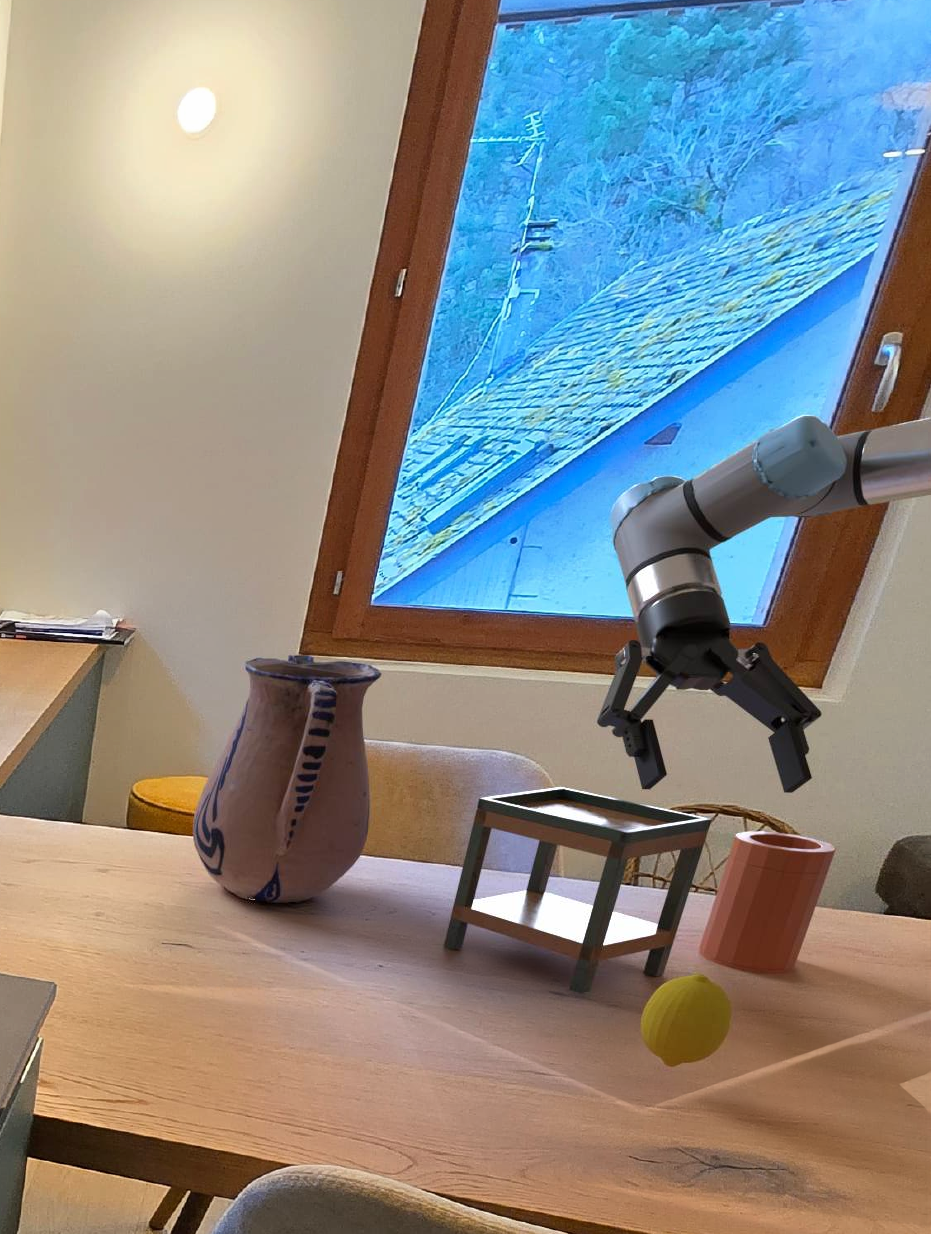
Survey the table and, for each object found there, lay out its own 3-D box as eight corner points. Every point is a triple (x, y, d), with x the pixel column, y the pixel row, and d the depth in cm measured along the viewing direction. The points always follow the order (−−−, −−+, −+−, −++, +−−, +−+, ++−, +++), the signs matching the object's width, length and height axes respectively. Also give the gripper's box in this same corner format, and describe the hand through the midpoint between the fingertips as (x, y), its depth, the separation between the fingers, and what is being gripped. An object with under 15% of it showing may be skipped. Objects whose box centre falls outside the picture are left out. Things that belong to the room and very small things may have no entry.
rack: (663, 974, 124) (712, 819, 118) (581, 994, 119) (628, 832, 113) (522, 930, 135) (560, 786, 129) (443, 946, 131) (478, 798, 125)
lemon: (641, 1077, 103) (672, 984, 99) (618, 1047, 108) (648, 957, 104) (723, 1086, 101) (758, 992, 98) (697, 1055, 106) (729, 964, 103)
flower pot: (809, 968, 125) (853, 846, 121) (764, 980, 122) (807, 855, 118) (726, 945, 132) (764, 828, 127) (681, 955, 129) (718, 836, 124)
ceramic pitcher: (322, 866, 154) (366, 648, 143) (389, 934, 135) (446, 688, 124) (168, 863, 156) (201, 648, 145) (213, 929, 137) (254, 687, 126)
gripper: (777, 636, 141) (829, 806, 133) (535, 632, 142) (573, 800, 135) (829, 588, 134) (888, 765, 126) (575, 585, 136) (617, 759, 128)
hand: (726, 784), depth 130 cm, fingers open, 13 cm apart
